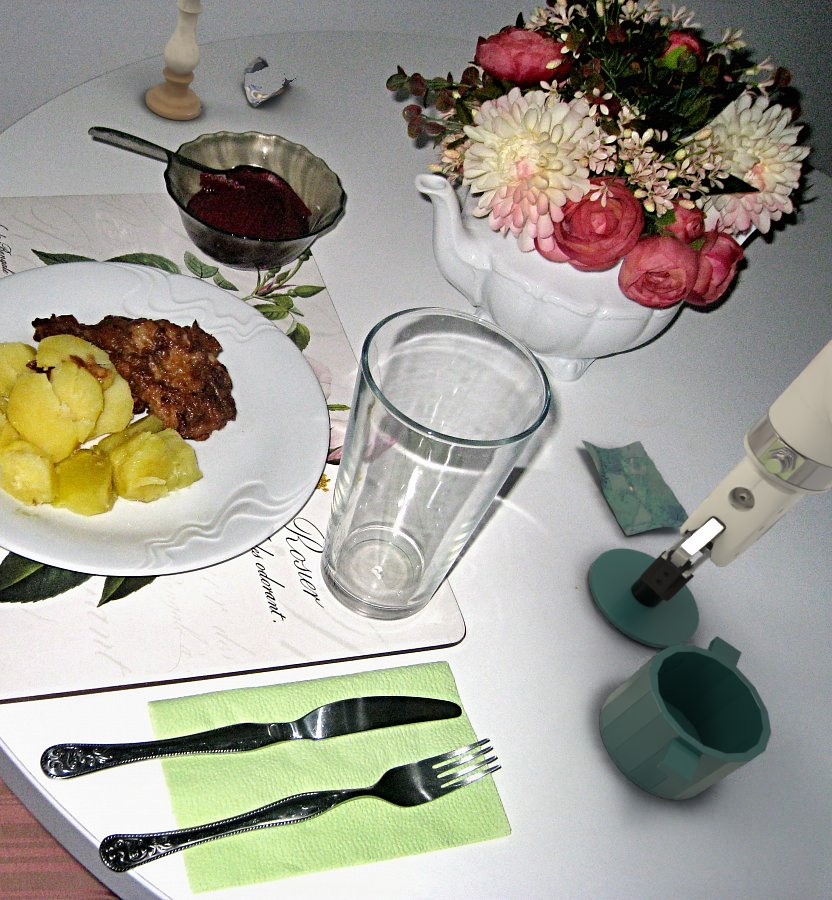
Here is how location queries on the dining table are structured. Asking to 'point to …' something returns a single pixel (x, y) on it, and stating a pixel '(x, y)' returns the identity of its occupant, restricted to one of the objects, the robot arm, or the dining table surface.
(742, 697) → the pot
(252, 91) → the snack package
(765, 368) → the dining table surface
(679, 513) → the green flat curved rectangle
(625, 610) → the pot lid
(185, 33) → the candle holder
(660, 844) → the dining table surface
